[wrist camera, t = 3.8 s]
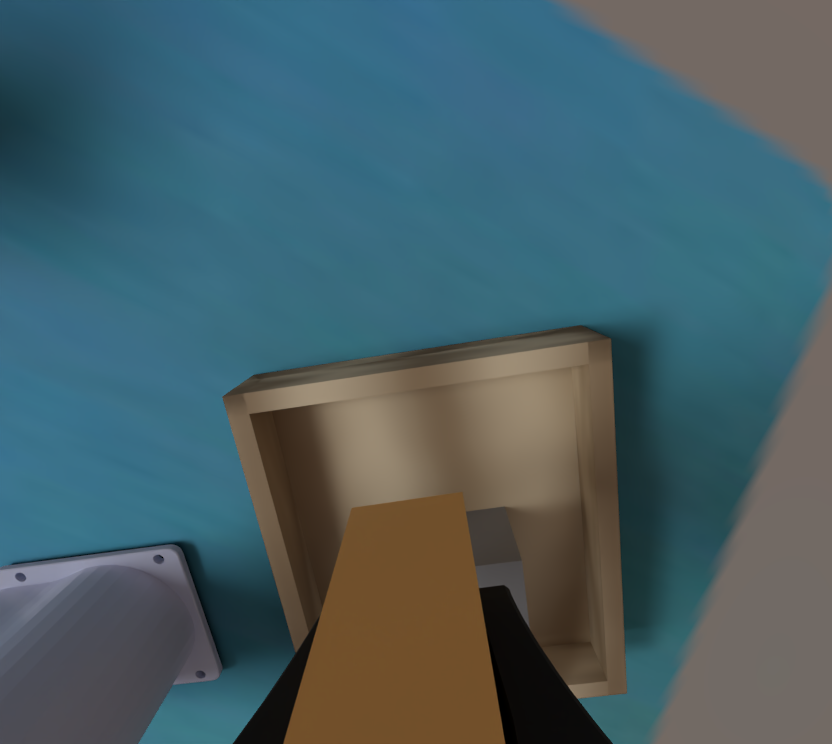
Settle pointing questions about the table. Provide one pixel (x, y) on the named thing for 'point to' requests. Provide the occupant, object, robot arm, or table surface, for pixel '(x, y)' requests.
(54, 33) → the table surface
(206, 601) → the table surface
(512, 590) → the inlet socket
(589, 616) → the walled box
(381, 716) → the plug
